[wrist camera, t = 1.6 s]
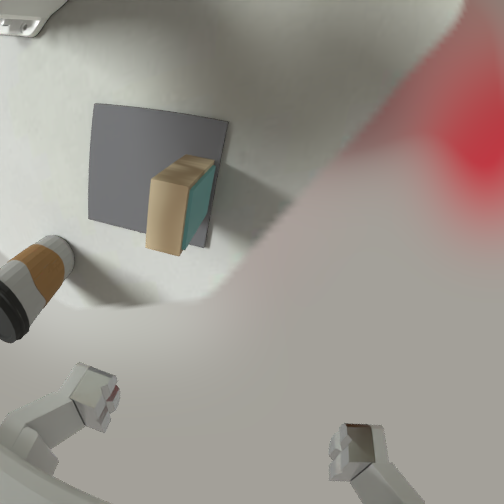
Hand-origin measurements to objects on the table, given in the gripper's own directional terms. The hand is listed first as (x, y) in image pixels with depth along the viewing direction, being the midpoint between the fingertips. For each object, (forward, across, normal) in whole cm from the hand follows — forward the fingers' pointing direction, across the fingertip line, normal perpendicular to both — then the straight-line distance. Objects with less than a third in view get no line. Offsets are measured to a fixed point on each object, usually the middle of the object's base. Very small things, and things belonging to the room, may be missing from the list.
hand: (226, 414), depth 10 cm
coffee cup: (+25, +28, +14) cm, 40 cm away
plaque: (+24, +8, +1) cm, 26 cm away
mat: (+25, +13, 0) cm, 28 cm away
